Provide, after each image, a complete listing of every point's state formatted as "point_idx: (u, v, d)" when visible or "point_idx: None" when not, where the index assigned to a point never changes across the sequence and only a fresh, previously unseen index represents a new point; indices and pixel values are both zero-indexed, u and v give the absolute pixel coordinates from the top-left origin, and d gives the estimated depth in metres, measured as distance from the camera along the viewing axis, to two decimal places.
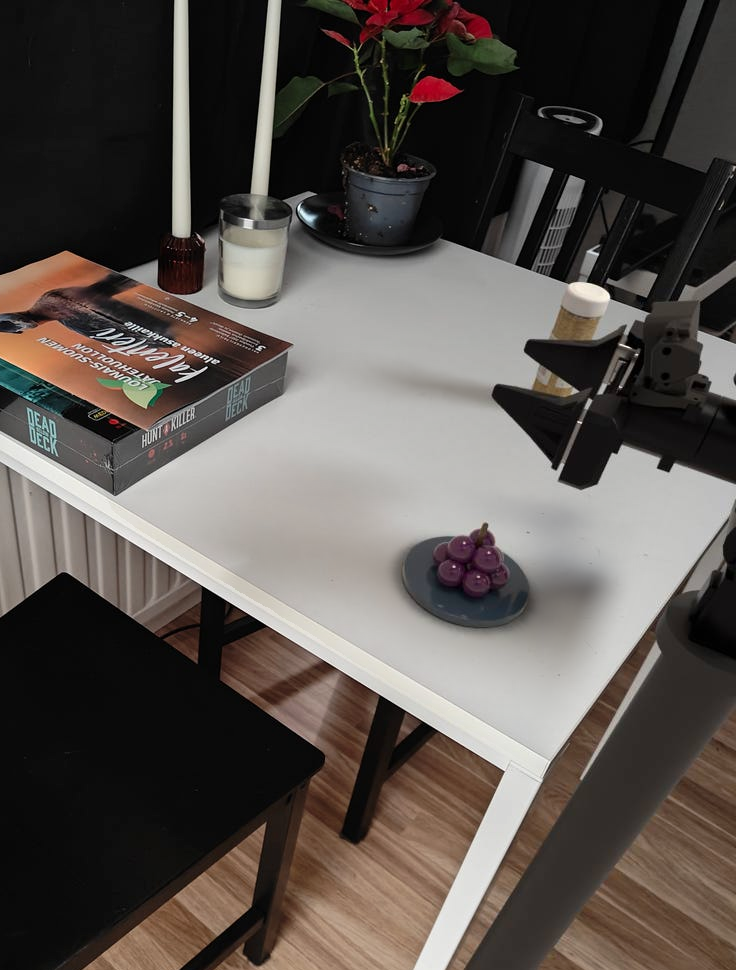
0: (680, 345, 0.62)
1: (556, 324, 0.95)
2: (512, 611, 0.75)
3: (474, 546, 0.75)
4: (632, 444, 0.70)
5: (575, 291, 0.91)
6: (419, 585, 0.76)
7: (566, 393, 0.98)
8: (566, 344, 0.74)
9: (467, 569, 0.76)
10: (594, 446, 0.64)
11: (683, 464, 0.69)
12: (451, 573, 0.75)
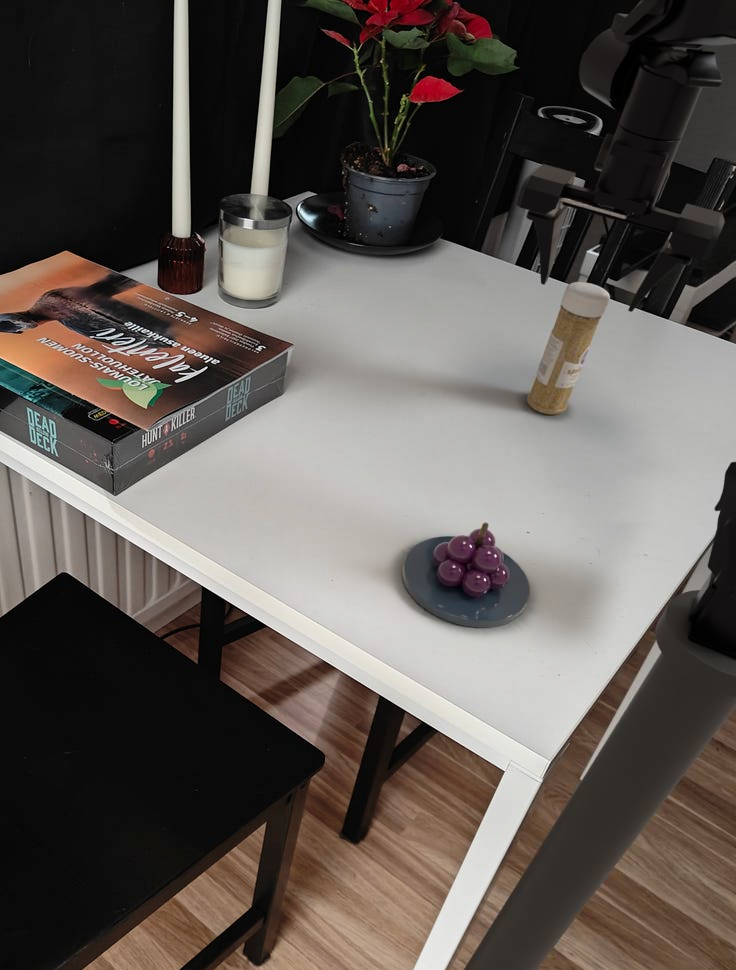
0: None
1: (556, 324, 0.95)
2: (512, 611, 0.75)
3: (474, 546, 0.75)
4: (602, 179, 0.84)
5: (575, 291, 0.91)
6: (419, 585, 0.76)
7: (566, 393, 0.98)
8: None
9: (467, 569, 0.76)
10: None
11: (622, 133, 0.81)
12: (451, 573, 0.75)
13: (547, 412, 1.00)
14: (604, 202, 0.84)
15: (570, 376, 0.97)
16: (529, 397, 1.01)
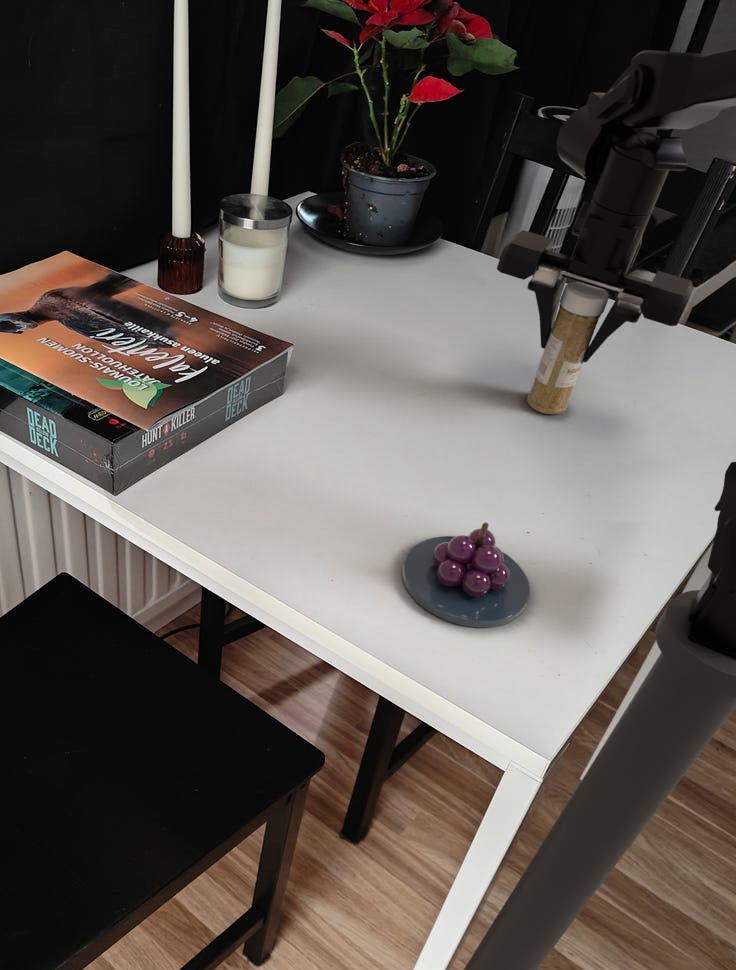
0: None
1: (555, 324, 0.95)
2: (512, 611, 0.75)
3: (474, 546, 0.75)
4: (578, 249, 0.89)
5: (573, 290, 0.92)
6: (419, 585, 0.76)
7: (566, 393, 0.98)
8: None
9: (467, 569, 0.76)
10: None
11: (595, 208, 0.85)
12: (451, 573, 0.75)
13: (547, 412, 1.00)
14: (579, 270, 0.89)
15: (570, 376, 0.97)
16: (529, 397, 1.01)
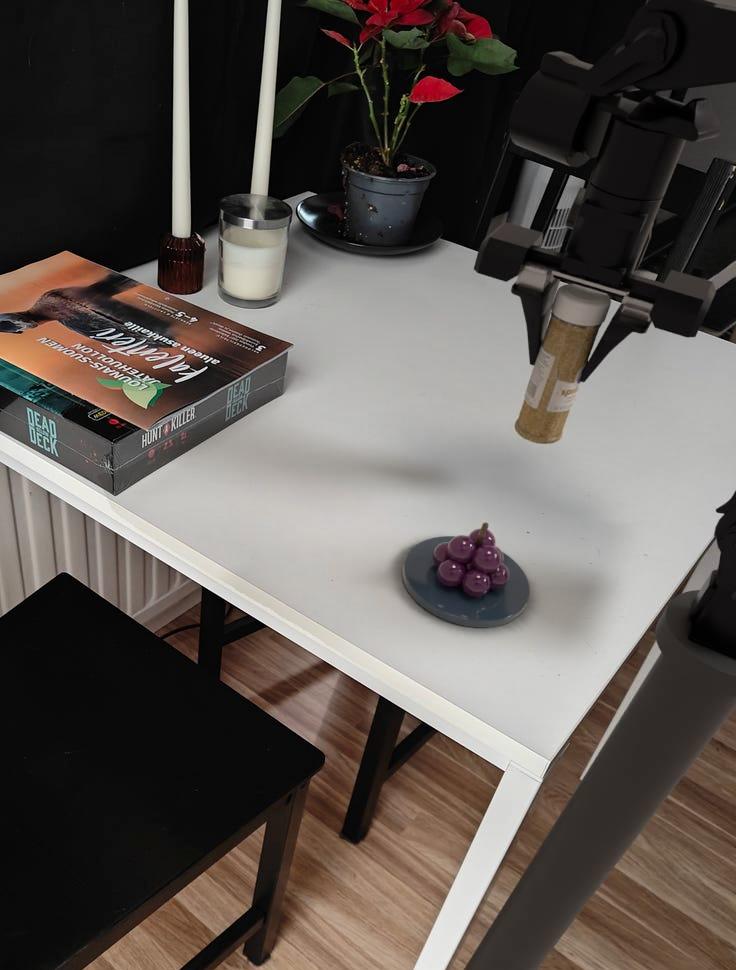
0: None
1: (546, 335, 0.78)
2: (512, 611, 0.75)
3: (474, 546, 0.75)
4: (572, 243, 0.72)
5: (567, 295, 0.75)
6: (419, 585, 0.76)
7: (561, 418, 0.81)
8: None
9: (467, 569, 0.76)
10: None
11: (593, 191, 0.69)
12: (451, 573, 0.75)
13: (539, 441, 0.83)
14: (574, 269, 0.72)
15: (565, 398, 0.80)
16: (517, 423, 0.84)
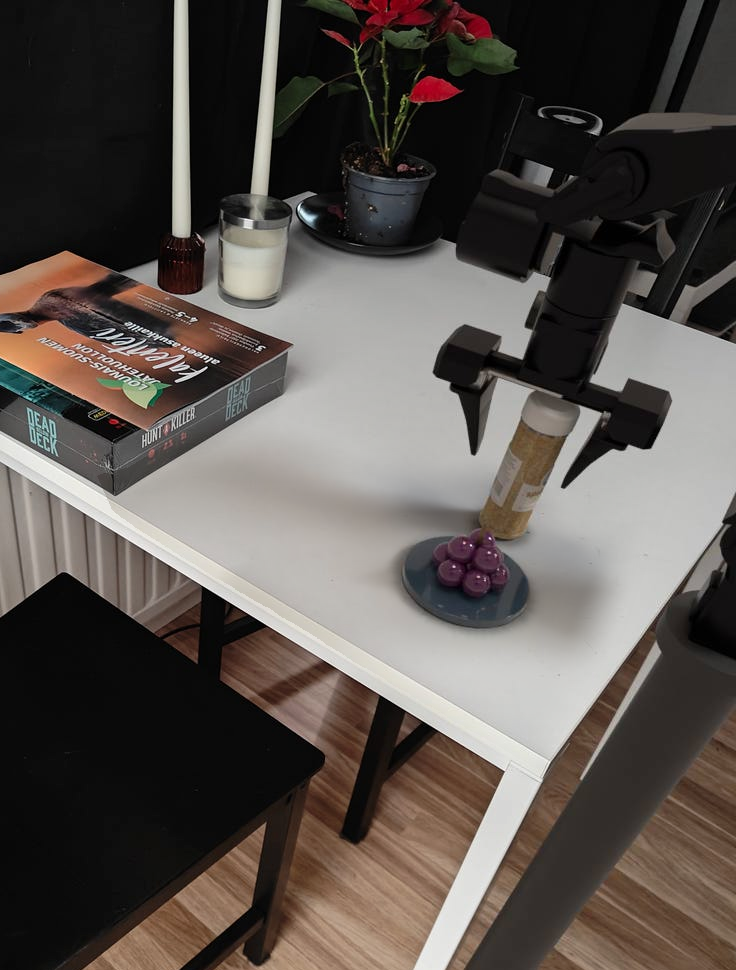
0: None
1: (514, 438, 0.77)
2: (512, 611, 0.75)
3: (474, 546, 0.75)
4: (529, 353, 0.72)
5: (537, 404, 0.74)
6: (419, 585, 0.76)
7: (525, 516, 0.81)
8: (580, 450, 0.78)
9: (467, 569, 0.76)
10: None
11: (548, 306, 0.69)
12: (451, 573, 0.75)
13: (502, 537, 0.83)
14: (531, 379, 0.72)
15: (530, 499, 0.80)
16: (481, 516, 0.84)
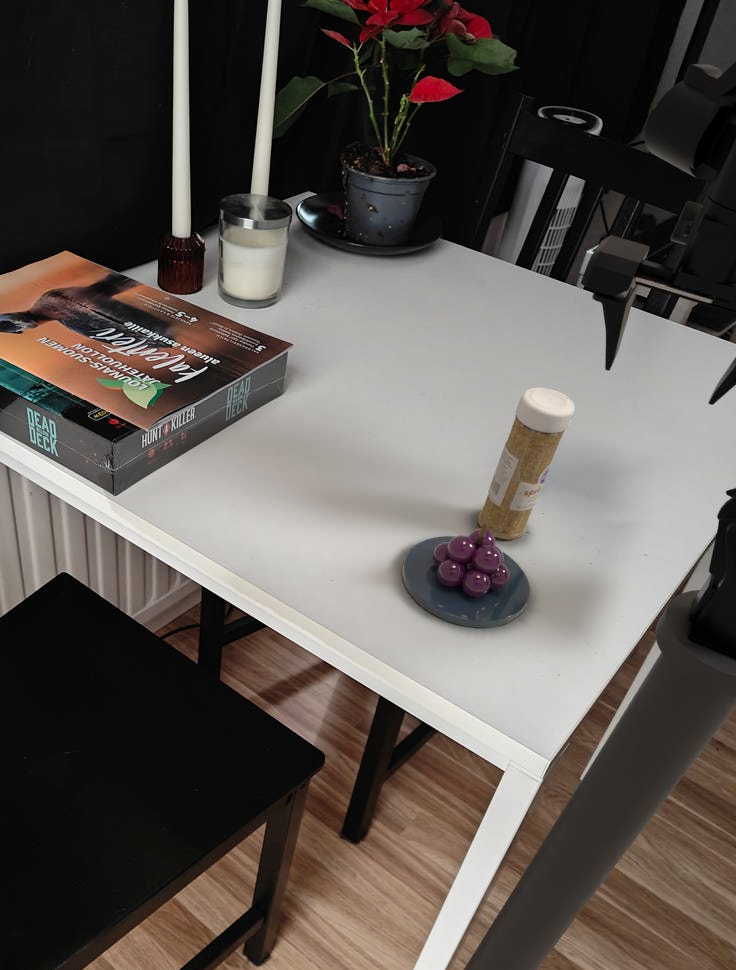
0: None
1: (510, 437, 0.78)
2: (512, 611, 0.75)
3: (474, 546, 0.75)
4: (686, 258, 0.71)
5: (531, 401, 0.75)
6: (419, 585, 0.76)
7: (524, 516, 0.81)
8: (731, 365, 0.77)
9: (467, 569, 0.76)
10: None
11: (713, 207, 0.68)
12: (451, 573, 0.75)
13: (501, 537, 0.83)
14: (688, 285, 0.71)
15: (527, 498, 0.80)
16: (480, 517, 0.84)
